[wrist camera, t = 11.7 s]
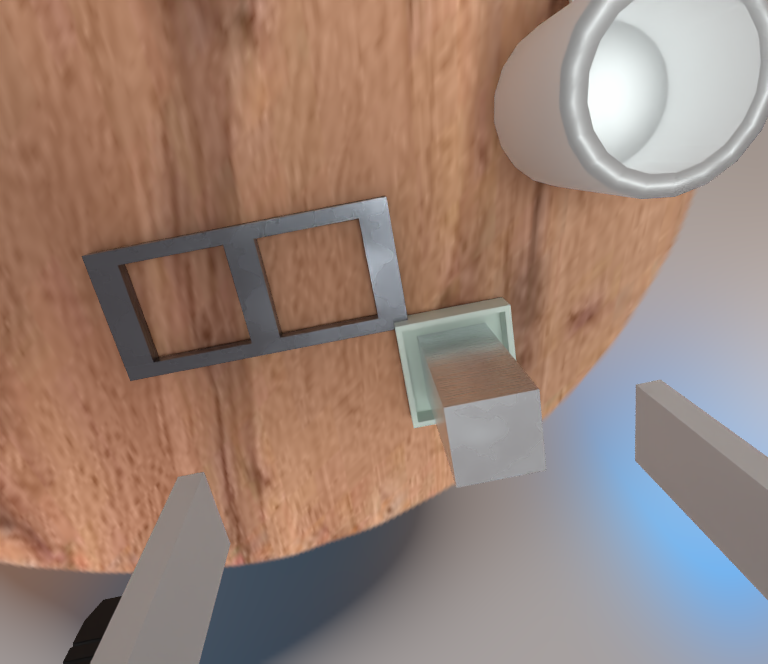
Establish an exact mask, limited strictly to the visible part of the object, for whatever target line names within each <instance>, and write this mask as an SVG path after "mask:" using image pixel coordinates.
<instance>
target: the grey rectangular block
mask: <svg viewBox="0 0 768 664" xmlns="http://www.w3.org/2000/svg"><path fill="white" fill-rule="evenodd" d="M417 339H418V345H419V351H420V357H421V363H422V368H423V374H424V380H425V386H426V392H427V397H428V400H429V404H430V407H431V410H432V413H433V416H434V419H435V422H436V425H437V428H438V432H439V435H440V438H441V441H442V444H443V447H444V450H445V453H446V457H447V460H448V463H449V466H450V469H451V472H452V475H453V478H454V481H455V485H456V487H457V488H458V487H463V486H468V485H473V484H478V483H484V482H489V481H494V480H499V479H504V478H509V477H515V476H520V475H525V474H529V473H535V472H540V471H545V470H546V461H545V450H544V439H543V427H542V416H541V404H540V393H539V388H538V387H537V386H536V385H535V383H534V382H533V381H532V380H531V379H530V377H529V376H528V375H527V374H526V372H525V371H524V370H523V369H522V367H521V366H520V365H519V364H518V363H517V361H516V360H515V359H514V358H513V356H512V355H511V354H510V353H509V351H508V350H507V349H506V348H505V347H504V345H503V344H502V343H501V342H500V340H499V339H498V338H497V337H496V335H495V334H494V333H493V332H492V331H491V329H490V328H489V327H488V326H487V324H486V323H481V324H476V325H471V326H466V327H460V328H455V329H450V330H445V331H440V332H435V333H430V334H424V335H419V336H417Z"/></svg>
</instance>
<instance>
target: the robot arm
mask: <svg viewBox="0 0 768 664" xmlns="http://www.w3.org/2000/svg"><path fill="white" fill-rule="evenodd" d="M635 438H636V439H635V461H636V462H637V463H638V464H639V465H640V466H641V467H642V468H643V469H644V470H645V471H646V472H647V473H648V474H649V476H650V477H651V478H652V479H653V480H654V481H655V482H656V483H657V484H658V485H659V486H660V487H661V488H662V489H663V490H664V491H665V492H666V493H667V494H668V495H669V496H670V498H671V499H672V500H673V501H674V502H675V503H676V504H677V505H678V506H679V507H680V508H681V509H682V510H683V511H684V512H685V513H686V514H687V516H689V518H690V519H691V520H692V521H693V522H694V523H695V524H696V525H697V526H698V527H699V528H700V529H701V530H702V531H703V532H704V533H705V534H706V535H707V536H708V538H710V540H711V541H712V542H713V543H714V544H715V545H716V546H717V547H718V548H719V549H720V550H721V551H722V552H723V553H724V554H725V556H726V557H728V559H729V560H730V561H731V562H732V563H733V564H734V565H735V566H736V567H737V568H738V569H739V570H740V571H741V572H742V573H743V574H744V576H745V577H746V578H747V579H748V580H749V581H750V582H751V583H752V584H753V585H754V586H755V587H756V588H757V589H758V590H759V591H760V592H761V593H762V594H763V595H764V597H765V598H766V599H767V600H768V457H767V456H765V455H764V454H763V453H761V452H760V451H758V450H757V449H756V448H754V447H753V446H752V445H750V444H749V443H747V442H746V441H745V440H743V439H742V438H740V437H739V436H737V435H736V434H735V433H733V432H732V431H731V430H729V429H728V428H727V427H725V426H724V425H722V424H721V423H720V422H718V421H717V420H715V419H714V418H713V417H711V416H710V415H709V414H707V413H706V412H704V411H703V410H702V409H700V408H699V407H698V406H696V405H695V404H693V403H692V402H691V401H689V400H688V399H686V398H685V397H684V396H682V395H681V394H680V393H678V392H677V391H675V390H674V389H673V388H671V387H670V386H668V385H667V384H666V383H664V382H663V381H662V380H657V381H652V382H648V383H642V384H638V385H636V435H635ZM229 546H230V542H229V539H228V536H227V533H226V531H225V528H224V525H223V523H222V520H221V517H220V514H219V512H218V509H217V506H216V504H215V501H214V498H213V495H212V493H211V490H210V487H209V484H208V482H207V479H206V476H205V474H204V472H201V473H196V474H191V475H186V476H181V477H178V478H177V480H176V483H175V485H174V487H173V489H172V491H171V493H170V495H169V497H168V500H167V502H166V504H165V506H164V508H163V510H162V512H161V514H160V517H159V519H158V521H157V523H156V525H155V527H154V529H153V531H152V533H151V536H150V538H149V540H148V542H147V544H146V546H145V548H144V550H143V553H142V555H141V557H140V559H139V561H138V563H137V565H136V567H135V570H134V572H133V574H132V576H131V578H130V580H129V583H128V585H127V587H126V589H125V591H124V593H123V595H122V596H120V597H115V598H110V599H105V600H103V601H102V602H101V603H100V604H99V606H97V608H96V609H95V610H94V611H93V612H92V613H91V614H90V615H89V617H88V618H87V619H86V620H85V621H84V623H83V625H82V627H81V629H80V631H79V633H78V634H77V636H76V638H75V640H74V642H73V647H72V648H70V650H69V651H68V654H67V655H66V657H65V659H64V661H63V664H199V661H200V657H201V653H202V649H203V646H204V642H205V638H206V634H207V630H208V626H209V623H210V619H211V615H212V611H213V607H214V604H215V600H216V596H217V592H218V588H219V584H220V581H221V576H222V573H223V569H224V566H225V562H226V558H227V554H228V550H229Z"/></svg>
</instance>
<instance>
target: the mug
mask: <svg viewBox="0 0 768 664" xmlns="http://www.w3.org/2000/svg"><path fill="white" fill-rule="evenodd" d="M767 118H768V0H569V4H568V5H567V6H566V7H564V8H563V9H561V10H560V11H558V12H557V13H556V14H554V15H553V16H551V17H550V18H548V19H547V20H546V21H544V22H543V23H541V24H540V25H539V26H537V27H536V28H535V29H534V30H533V31H532V32H531V33H529V34H528V35H527V36H526V37H525V38H524V39H523V40H521V41H520V42H519V43H518V44H517V46H516V47H515V49H514V51H513V52H512V54H511V55H510V57H509V58H508V60H507V62H506V63H505V65H504V66H503V68H502V71H501V75H500V78H499V81H498V85H497V88H496V91H495V95H494V124H495V127H496V131H497V134H498V138H499V141H500V145H501V147H502V149H503V150H504V152H505V153H506V155H507V156H508V158H509V159H510V161H511V162H512V163H513V165H514V166H515V167H516V168H517V169H518V170H520V171H521V172H523V173H524V174H525V175H527V176H528V177H530V178H531V179H532V180H534V181H537V182H541V183H545V184H548V185H552V186H555V187H562V188H569V189H576V190H583V191H590V192H597V193H604V194H611V195H618V196H624V197H631V198H638V199H649V198H663V197H675V196H678V195H680V194H683V193H685V192H688V191H690V190H693V189H695V188H698V187H700V186H703V185H705V184H707V183H709V182H710V181H712V180H713V179H714V178H715V177H717V176H718V175H719V174H721V173H722V172H723V171H725V170H726V169H727V168H729V167H730V166H731V165H733V164H734V163H735V162H737V161H738V159H739V158H740V157H741V155H742V154H743V153H744V152H745V151H746V149H747V148H748V147H749V145H750V144H751V143H752V142H753V140H754V139H755V138H756V137H757V135H758V134H759V133H760V132H761V130H762V128H763V126H764V124H765V122H766V120H767Z"/></svg>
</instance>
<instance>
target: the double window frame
mask: <svg viewBox="0 0 768 664" xmlns="http://www.w3.org/2000/svg"><path fill="white" fill-rule="evenodd" d="M358 218H359V222H360V227H361V232H362V237H363V242H364V247H365V252H366V257H367V262H368V267H369V273H370V278H371V283H372V288H373V293H374V298H375V303H376V308H377V313H378V315H373V316H368V317H363V318H357V319H352V320H347V321H342V322H337V323H332V324H327V325H322V326H316V327H311V328H306V329H301V330H296V331H291V332H286V333H282V332H281V328H280V324H279V320H278V317H277V313H276V309H275V305H274V302H273V298H272V294H271V291H270V287H269V283H268V279H267V276H266V272H265V268H264V265H263V261H262V257H261V253H260V250H259V246H258V242H257V239H256V238H261V237H266V236H271V235H276V234H281V233H286V232H291V231H296V230H302V229H307V228H312V227H317V226H322V225H327V224H332V223H337V222H343V221H348V220H353V219H358ZM220 245H223V246H224V249H225V253H226V256H227V260H228V263H229V267H230V270H231V273H232V277H233V280H234V284H235V287H236V291H237V294H238V297H239V301H240V304H241V308H242V311H243V314H244V318H245V321H246V325H247V328H248V332H249V335H250V338H251V339H250V340H245V341H239V342H234V343H229V344H224V345H219V346H214V347H209V348H204V349H198V350H193V351H188V352H183V353H178V354H173V355H168V356H162V357H158V354H157V351H156V348H155V346H154V343H153V340H152V337H151V335H150V332H149V329H148V326H147V324H146V321H145V318H144V315H143V313H142V310H141V307H140V304H139V302H138V299H137V296H136V294H135V291H134V288H133V285H132V283H131V280H130V277H129V274H128V272H127V269H126V266H125V264H127V263H132V262H138V261H143V260H148V259H153V258H158V257H163V256H168V255H173V254H179V253H184V252H189V251H194V250H199V249H204V248H209V247H214V246H220ZM82 258H83V261H84V264H85V266H86V269H87V271H88V274H89V276H90V279H91V281H92V284H93V287H94V289H95V292H96V294H97V297H98V299H99V302H100V304H101V307H102V310H103V312H104V315H105V317H106V320H107V322H108V325H109V327H110V330H111V333H112V335H113V338H114V340H115V343H116V345H117V348H118V350H119V353H120V356H121V358H122V361H123V363H124V366H125V368H126V371H127V373H128V376H129V379H130V381H132V380H138V379H143V378H148V377H153V376H158V375H163V374H168V373H173V372H179V371H184V370H189V369H194V368H199V367H204V366H209V365H215V364H220V363H225V362H230V361H235V360H240V359H245V358H250V357H256V356H261V355H266V354H271V353H276V352H281V351H286V350H292V349H297V348H302V347H307V346H312V345H317V344H322V343H327V342H333V341H338V340H343V339H348V338H353V337H358V336H363V335H369V334H374V333H379V332H384V331H389V330H394V329H395V326H394V323H395V322H400V321H405V320H408V318H407V312H406V306H405V301H404V295H403V289H402V283H401V278H400V272H399V266H398V261H397V255H396V249H395V244H394V238H393V232H392V227H391V221H390V215H389V210H388V204H387V198H386V196H381V197H376V198H371V199H366V200H361V201H356V202H351V203H345V204H340V205H335V206H330V207H325V208H320V209H315V210H310V211H304V212H299V213H294V214H289V215H284V216H279V217H274V218H269V219H263V220H258V221H253V222H248V223H243V224H238V225H233V226H227V227H222V228H217V229H212V230H207V231H202V232H197V233H192V234H186V235H181V236H176V237H171V238H166V239H161V240H156V241H151V242H145V243H140V244H135V245H130V246H125V247H120V248H115V249H110V250H104V251H99V252H94V253H89V254H86V255H84V256H82Z"/></svg>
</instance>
